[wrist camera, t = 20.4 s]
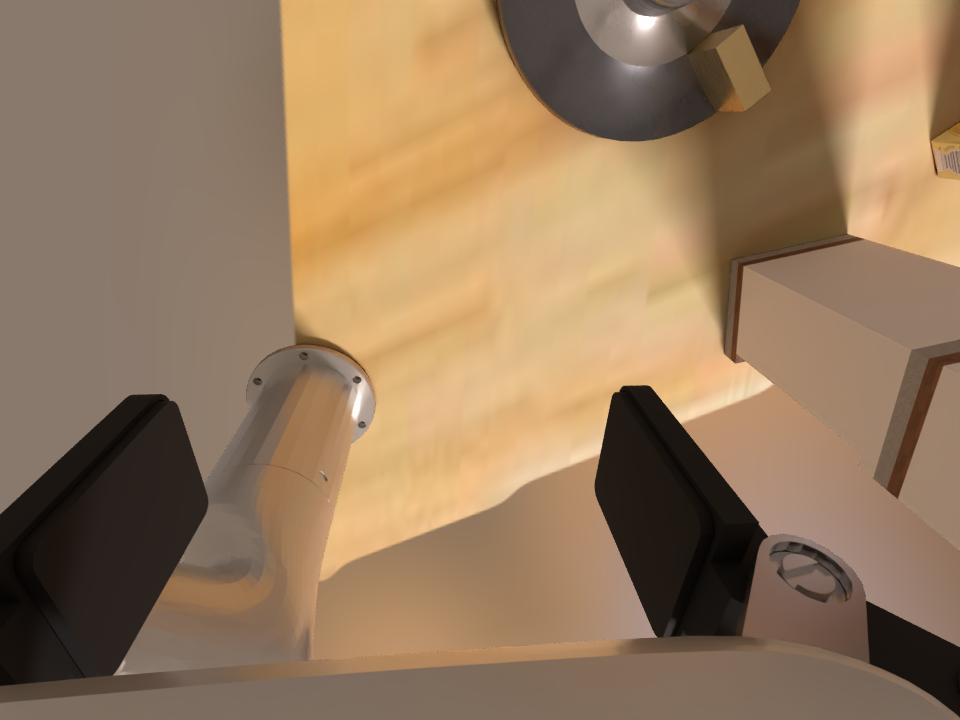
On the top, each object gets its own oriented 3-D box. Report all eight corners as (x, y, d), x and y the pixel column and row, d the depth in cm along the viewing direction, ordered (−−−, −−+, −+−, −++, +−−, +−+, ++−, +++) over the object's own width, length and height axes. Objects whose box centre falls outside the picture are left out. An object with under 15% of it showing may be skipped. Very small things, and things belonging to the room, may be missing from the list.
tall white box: (724, 354, 50) (1194, 747, 19) (731, 259, 44) (1390, 588, 14) (828, 331, 49) (1474, 691, 19) (847, 234, 44) (1779, 510, 14)
